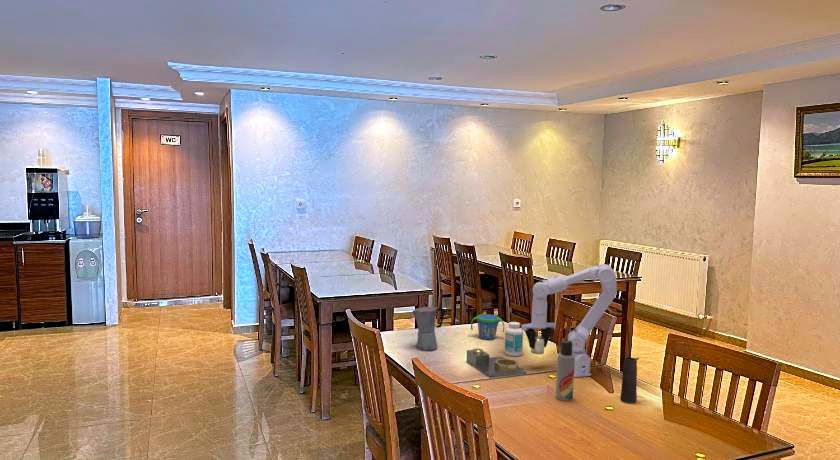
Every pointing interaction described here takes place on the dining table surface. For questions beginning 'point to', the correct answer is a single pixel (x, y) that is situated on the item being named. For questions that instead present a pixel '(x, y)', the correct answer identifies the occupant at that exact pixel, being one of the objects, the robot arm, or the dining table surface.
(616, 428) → the dining table surface
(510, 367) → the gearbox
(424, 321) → the moka pot
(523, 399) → the dining table surface
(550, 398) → the dining table surface
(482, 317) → the snack cup
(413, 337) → the dining table surface
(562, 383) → the lotion bottle
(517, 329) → the pill bottle
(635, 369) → the butter churn
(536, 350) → the spout can
